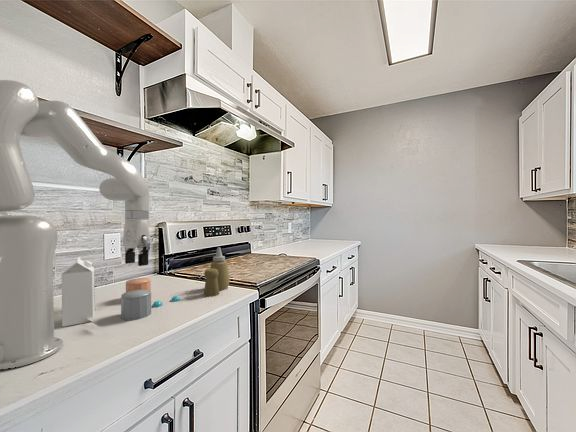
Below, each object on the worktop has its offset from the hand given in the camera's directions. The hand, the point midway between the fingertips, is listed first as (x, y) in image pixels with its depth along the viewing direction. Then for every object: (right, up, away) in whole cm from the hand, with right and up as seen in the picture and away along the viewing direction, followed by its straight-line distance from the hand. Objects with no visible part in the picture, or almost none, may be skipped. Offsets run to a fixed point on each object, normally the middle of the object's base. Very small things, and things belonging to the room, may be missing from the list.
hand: (136, 264), depth 95 cm
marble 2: (+15, -12, -2) cm, 19 cm away
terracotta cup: (0, -14, +1) cm, 14 cm away
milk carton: (-9, -14, -15) cm, 22 cm away
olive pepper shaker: (+25, -14, +5) cm, 29 cm away
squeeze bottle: (+26, -14, +13) cm, 32 cm away
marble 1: (+11, -12, -7) cm, 18 cm away
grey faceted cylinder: (+9, -14, -15) cm, 22 cm away
